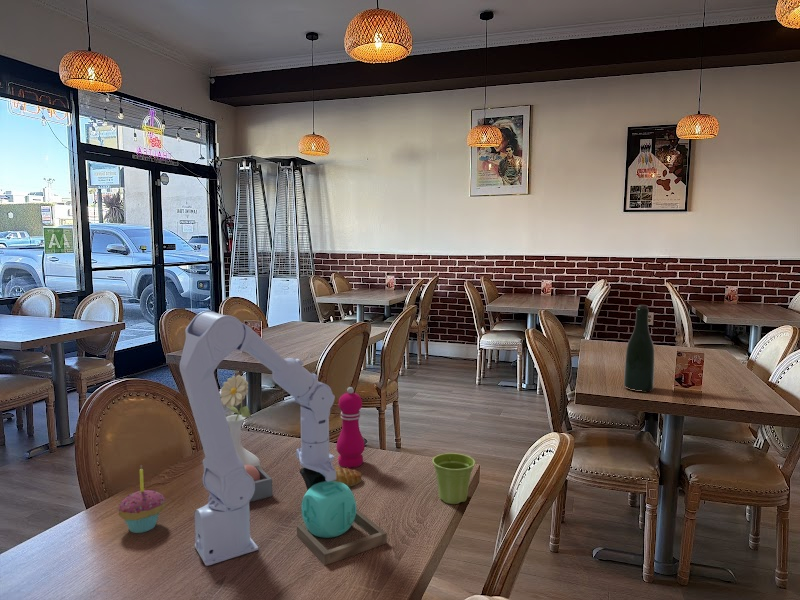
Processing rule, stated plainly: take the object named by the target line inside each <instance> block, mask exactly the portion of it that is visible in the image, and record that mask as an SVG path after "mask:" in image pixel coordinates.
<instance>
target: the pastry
mask: <svg viewBox="0 0 800 600" xmlns="http://www.w3.org/2000/svg"><path fill="white" fill-rule="evenodd" d="M334 469H335V470H336V480H332V481H337V482H341V483H344V484H345V485H347V486H348V487H349V488H350V487H354V486H356V485H358V484H360V483H361V482H362V473H361V472H360V471H358V470H356V469H352V468H345V467H342V466H341V467H340V466H336V467H334Z"/></svg>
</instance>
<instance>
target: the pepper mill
mask: <svg viewBox="0 0 800 600" xmlns="http://www.w3.org/2000/svg"><path fill="white" fill-rule="evenodd" d="M338 407H339V410H340V411H341V412H340V418H341V420H342V425H341V430H340V433H339V436H338V438H337V441H336V451H337V452H338V454H339V455H338V459H337V460H338V461H337V462H338V465H339V467H340V466H341V468H345V467H348V468H347V469H352V468H351V467H354V468H357V467H361V466H362V465H363V464H362V463H364V456H363V453H364V452H365V441H364V437H363V435H362V433H361V430H360V425H359V423H360V422H359V420H360V418H361V411H360V410H361V408H362V407H363V399H362V397H361V396H360V395H359V394H358V393H356V392H355V390H354V388H353V387H352V386H348V387H347V390H346V393H343V394H342V395H341V396H340V397H339V399H338ZM361 464H362V465H361Z"/></svg>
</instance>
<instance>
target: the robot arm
mask: <svg viewBox="0 0 800 600" xmlns="http://www.w3.org/2000/svg"><path fill="white" fill-rule="evenodd" d="M184 331H185V332H184V333H185V341H184V345H183V349H182V353H181V357H180V361H179V372H180V375H181V378H182V381H183V384H184V389H185V393H186V395H187V399H188V402H189V405H190V409H191V412H192V416H193V419H194V422H195V425H196V429H197V432H198V436H199V439H200V443H201V446H202V449H203V453H204V456H205V457H204V458H203V460H202V465H203V475H202V485H203V486H204V488H205V489H206V490H207V492H208V491H209V492H208V493H209V494H208V495H209V496H208V501H207V502H208V503H207V504H205V505H204V506H201V507H200V508H196V509H195V512H194V536H195V540H194V542H195V543H194V548H195V550H196V551H197V553H198V555H199V556H200V558H201V560H202V562H203V563H204V565H205V566H207V567H208V566H211V565H214V564H218V563H221V562H224V561H227V560H230V559H234V558H237V557H240V556H243V555H246V554H249V553H252V552H255V551H258V549H259V547H258V545H257V543H255V542H254V540H253V539H252V538H251V522H250V521H251V520H250V517H251V516H250V502H249V501H250V500H251V498H252V496H253V494H254V491H255V482H254V480H253V478H252V477H251V476H250V475H249V474H248V473H247V472H246V470H245V466H244V464H243V462H242V461H241V459H240V458H239V456H238V454H237V453H236V451H235V447H234V444H233V440H232V437H231V433H230V428H229V425H228V422H227V419H226V417H227V415H226V412H225V409H224V405H223V403H222V401H221V398H222V397H220V394H221V393H220V391H219V387H218V383H217V380H216V377H215V370H216V369H217V368H218V366H219V365H220V363H221V362H222V361H224V360H225V359H226V358H227V357H228V356H230V355H231V354H232V353H233V352H234V351H235V350H237V351H241V352H245V353H247V354H248V355H249V356H251V357H252V358H253V359H255V360H256V361H258V362H259V363H260V364H262V365H263V366H264V367H266V369H268V370H269V371H271V373H272V374H271V375H272V376H271V377H272V381H273V382H274V383H275V384H276V385H278V386H279V388H281V389H283V390H284V391H285V392H287V393H288V394H289V395H290V396H292V397H293V398H294V400H295V403H296V404H298V405H300V408H299V409H300V448H297V449H296V450H295V451H296V453H295V454H296V459H297V460H299V463H300V466H302V468H300V469H299V473H300V475H301V477H302V479H303V480H304V484H305V487H306V490H307V491H308V490H309V489H310V488H311V487H312V486H313V485H314V484H317V483H320V482H324V481H327V482H329V481H332V480H336V470H335V469H334V468H335V467H334V465H333V463H332V461H334V460H335V456H334V454H331V453H330V416H331V408H332V407H333V405H334V402H335V400H336V399H335V398H336V397H335V394H333V391H332V388H331V387H330V386H329V385H328V384H326V383H323V382H321V381H319V375H317V374H316V373H311V372H310V371H309V370H308V369H306V367H304V366H303V365H304V362H303V361H302V360H301V359H299V358H293V357H286V358H284V357H282V355H281V354H280V353H278V352H277V350H275V349H274V348H273V347H272V346H271V345H270V344H269V343H267V342H266V340H264V339H263V338H262V337H261V336H260V335H259V334H258V333H257V332H256V331H254V329H253V328H251V327H250V326H249V325H247V324H245V323H243V322H241V321H240V319H238V317H235V316H234V315H233V316H232V315H227V314H226V315H225V314H221V313H218V312H216V311H214V310H204V311H201V312H199V313H197V314H196V315H195V316H194V317H193V319H192V320H191V321H190V322H189V323H188V325H187V326H186V328H185V329H184ZM307 491H306V492H307Z"/></svg>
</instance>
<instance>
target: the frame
mask: <svg viewBox="0 0 800 600" xmlns="http://www.w3.org/2000/svg"><path fill="white" fill-rule="evenodd" d="M353 522H354V523H356V524H357V525H358V526H360V528H361V529H362V530H364V531H366V533H368V534H369V535H368V536H365V537H362V538H360V539H357V540H354V541H350V542H347V543H345V544H342V545H339V546H336V547H333V548H330V549H327V548H325V547H326V546H325V547H324V545H323V544H321V542H320V541H319V540H318V539H317V538H316V536H315V535H313V534H312V533H311V532H310V531H309V530H308V529H307V527H305V526H304V525H303V524H299V525H296V536H297V538H299V540H301V542H302V543H303V544H304V545H305V546H306V547H307V548H308V549H309V550H310V551H311V552H312V554H313V555H314V556H315V557H316V558H317V559H319V561H320V562H321V563H322V564H323V565H324V566H327V565H330V564H333V563H336V562H339V561H341V560H344V559H347V558H350V557H353V556H355V555H358V554H361V553H363V552H366V551H369V550H372V549H375V548H377V547H380V546H383V545H385V544H388V534H387V532H386V531H385V530H384V529H382V528H381V527H380V526H379V525H378V524H376V523H375V522H373V521H372V520H371V519H370V518H368V517H367V515H365V514H364V513H363V512H361V511H360V510H359V509H357V508H356V516H355V519H354V521H353Z"/></svg>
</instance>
